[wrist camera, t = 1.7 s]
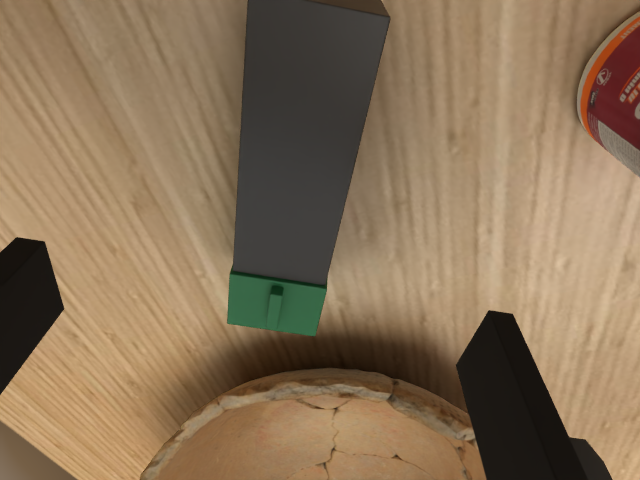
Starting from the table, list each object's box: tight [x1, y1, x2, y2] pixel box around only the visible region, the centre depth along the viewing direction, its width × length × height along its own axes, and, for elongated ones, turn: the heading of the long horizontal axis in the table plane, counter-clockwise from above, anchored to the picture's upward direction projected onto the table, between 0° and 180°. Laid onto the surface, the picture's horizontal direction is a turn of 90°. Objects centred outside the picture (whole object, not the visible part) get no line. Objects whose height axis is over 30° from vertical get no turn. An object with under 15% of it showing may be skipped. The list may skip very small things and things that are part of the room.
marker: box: [227, 0, 390, 336], centre depth 18 cm, size 15×5×5 cm, turn 170°
